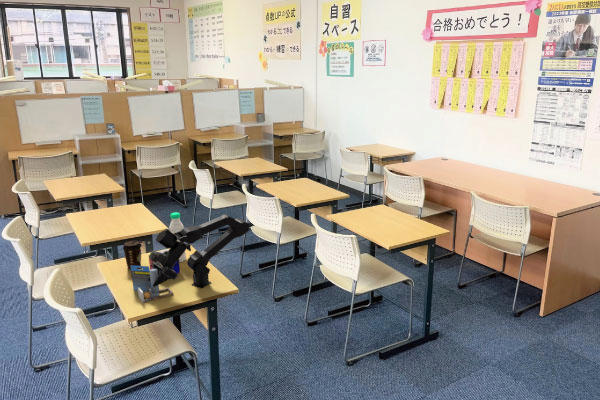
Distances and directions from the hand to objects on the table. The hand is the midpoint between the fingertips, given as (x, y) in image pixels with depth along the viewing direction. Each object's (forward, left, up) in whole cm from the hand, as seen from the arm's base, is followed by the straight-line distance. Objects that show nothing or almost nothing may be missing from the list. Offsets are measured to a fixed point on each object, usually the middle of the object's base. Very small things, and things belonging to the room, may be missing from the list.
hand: (151, 283), depth 204 cm
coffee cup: (+32, -17, -7) cm, 37 cm away
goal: (+1, +3, -7) cm, 7 cm away
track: (-1, -3, -7) cm, 7 cm away
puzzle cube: (+14, -20, -7) cm, 25 cm away
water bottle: (+20, -35, -7) cm, 41 cm away
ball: (0, +1, -4) cm, 4 cm away
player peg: (-1, -1, -6) cm, 6 cm away
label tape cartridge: (+9, -3, -7) cm, 12 cm away
